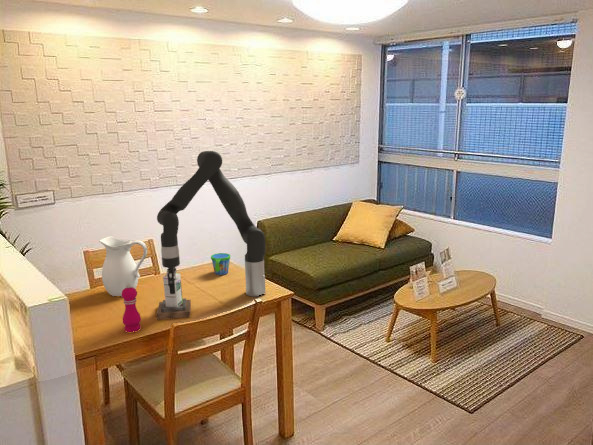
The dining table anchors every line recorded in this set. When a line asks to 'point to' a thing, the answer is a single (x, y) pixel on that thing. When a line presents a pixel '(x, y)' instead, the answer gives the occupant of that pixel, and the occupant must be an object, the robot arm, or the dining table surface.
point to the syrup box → (176, 298)
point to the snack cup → (220, 263)
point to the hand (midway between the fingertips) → (173, 290)
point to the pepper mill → (130, 310)
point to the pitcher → (120, 265)
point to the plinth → (174, 310)
